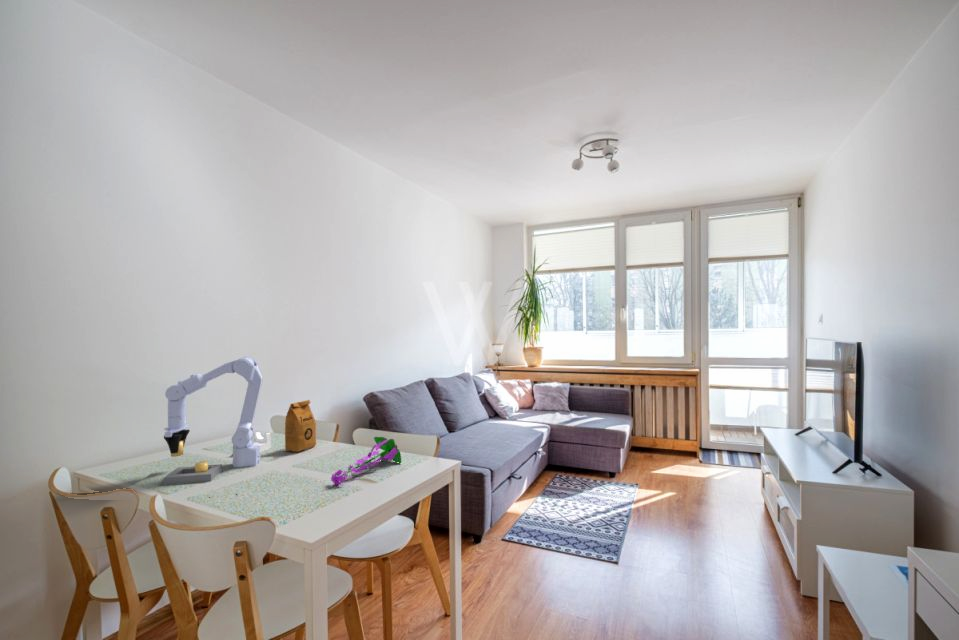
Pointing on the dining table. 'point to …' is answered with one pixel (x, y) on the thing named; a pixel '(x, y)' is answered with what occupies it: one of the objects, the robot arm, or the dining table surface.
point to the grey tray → (191, 475)
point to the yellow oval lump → (180, 451)
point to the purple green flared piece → (388, 454)
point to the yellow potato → (201, 467)
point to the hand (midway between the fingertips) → (177, 451)
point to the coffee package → (300, 427)
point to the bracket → (262, 441)
